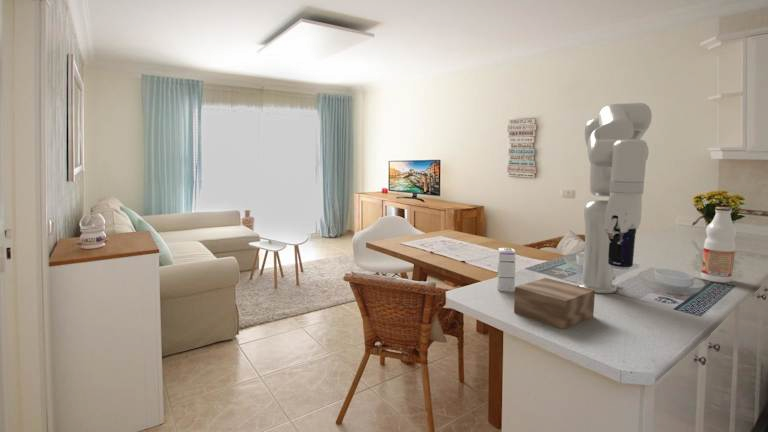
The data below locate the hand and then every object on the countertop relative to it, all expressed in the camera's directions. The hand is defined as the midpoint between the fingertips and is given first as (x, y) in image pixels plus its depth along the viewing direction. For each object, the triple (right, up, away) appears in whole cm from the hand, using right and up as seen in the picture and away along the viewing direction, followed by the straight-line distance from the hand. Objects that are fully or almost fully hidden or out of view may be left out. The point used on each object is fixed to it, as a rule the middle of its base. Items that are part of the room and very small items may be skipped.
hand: (620, 255), depth 111 cm
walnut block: (-12, -19, +15) cm, 27 cm away
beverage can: (0, -3, +1) cm, 3 cm away
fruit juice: (+65, -14, +51) cm, 84 cm away
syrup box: (-19, -16, +39) cm, 46 cm away
